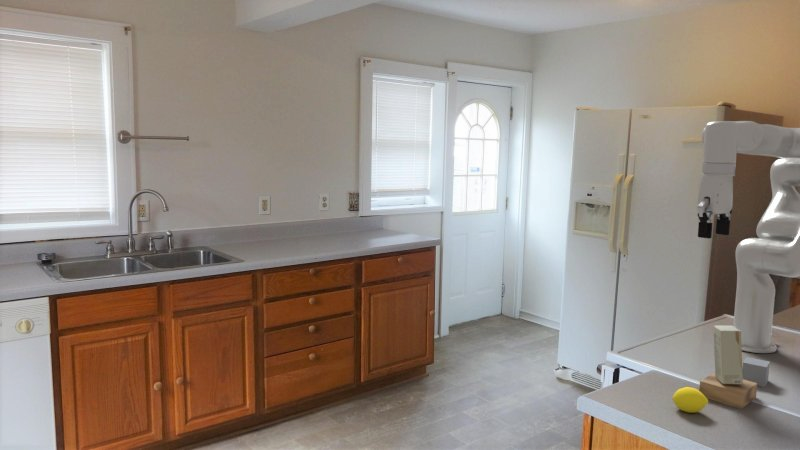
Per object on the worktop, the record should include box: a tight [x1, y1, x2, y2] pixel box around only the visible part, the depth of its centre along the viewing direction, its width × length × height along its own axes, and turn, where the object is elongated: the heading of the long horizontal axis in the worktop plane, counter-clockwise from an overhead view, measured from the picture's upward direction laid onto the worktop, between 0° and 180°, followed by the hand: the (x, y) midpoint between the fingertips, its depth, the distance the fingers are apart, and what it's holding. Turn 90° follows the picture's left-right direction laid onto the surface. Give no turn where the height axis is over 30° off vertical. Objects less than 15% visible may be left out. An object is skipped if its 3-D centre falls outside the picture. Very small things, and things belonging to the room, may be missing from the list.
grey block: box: [742, 356, 771, 388], centre depth 143 cm, size 5×5×5 cm
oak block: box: [698, 371, 758, 410], centre depth 134 cm, size 9×9×4 cm
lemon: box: [672, 386, 709, 414], centre depth 126 cm, size 7×5×5 cm
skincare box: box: [712, 324, 743, 384], centre depth 133 cm, size 6×4×12 cm
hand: (713, 236), depth 152 cm, fingers open, 9 cm apart
